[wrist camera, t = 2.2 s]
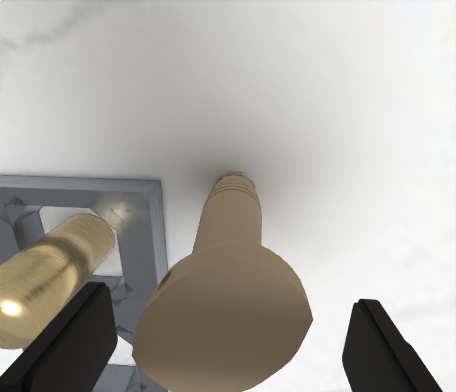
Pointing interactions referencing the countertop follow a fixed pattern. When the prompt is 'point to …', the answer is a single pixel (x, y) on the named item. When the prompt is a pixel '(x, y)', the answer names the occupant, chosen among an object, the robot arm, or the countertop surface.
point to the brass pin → (49, 276)
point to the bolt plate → (127, 240)
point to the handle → (223, 304)
